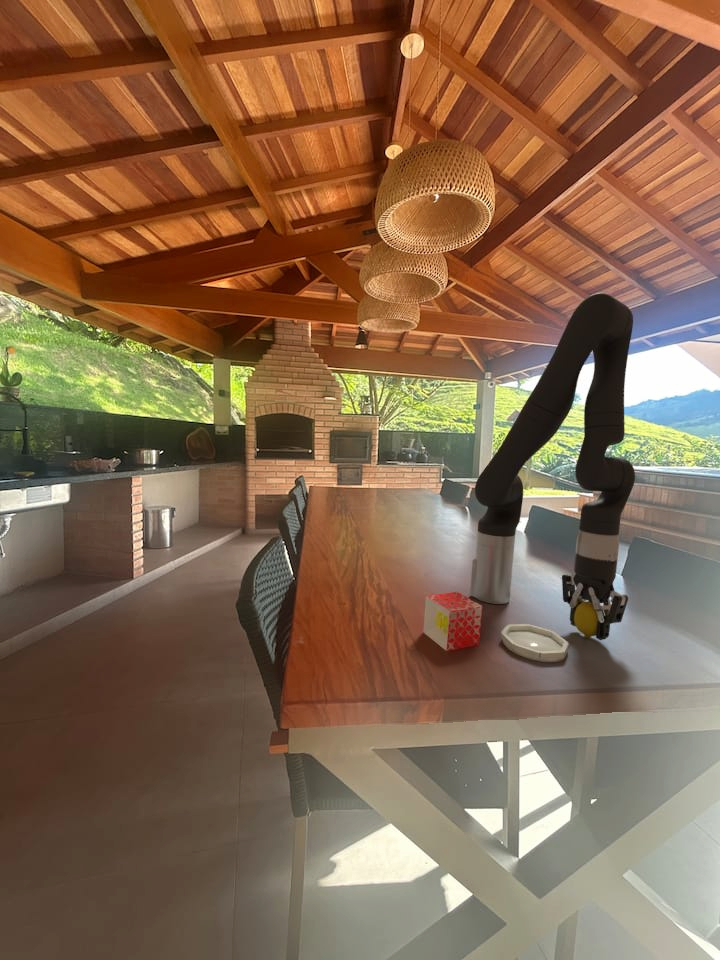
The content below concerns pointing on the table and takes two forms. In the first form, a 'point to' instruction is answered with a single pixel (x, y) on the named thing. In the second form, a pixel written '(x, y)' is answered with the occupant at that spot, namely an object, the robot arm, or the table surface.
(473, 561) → the robot arm
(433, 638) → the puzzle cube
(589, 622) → the lemon
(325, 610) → the table surface
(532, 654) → the dish
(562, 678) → the table surface
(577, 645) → the table surface
